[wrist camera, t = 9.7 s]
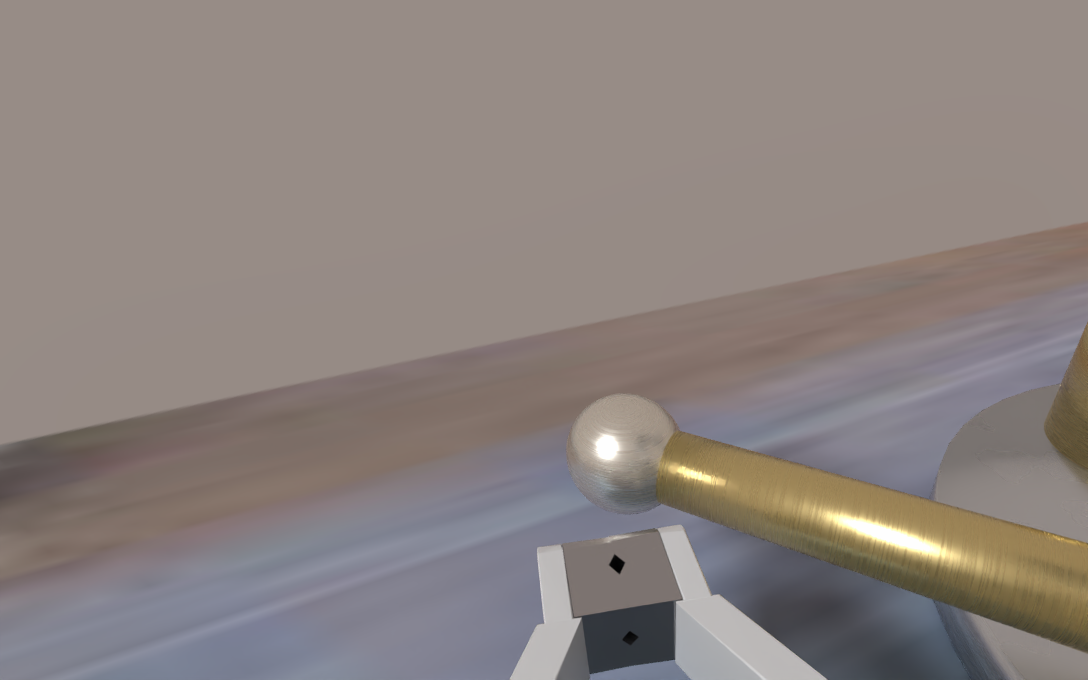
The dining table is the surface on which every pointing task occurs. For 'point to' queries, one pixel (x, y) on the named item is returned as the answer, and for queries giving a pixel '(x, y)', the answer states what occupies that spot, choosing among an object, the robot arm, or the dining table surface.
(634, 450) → the brass lever handle
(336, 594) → the dining table surface
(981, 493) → the tribrach
